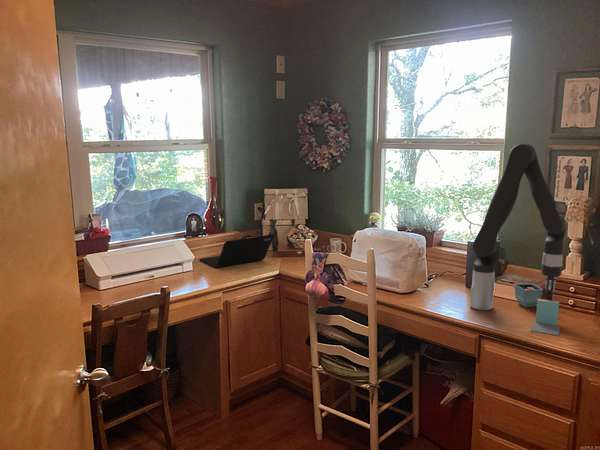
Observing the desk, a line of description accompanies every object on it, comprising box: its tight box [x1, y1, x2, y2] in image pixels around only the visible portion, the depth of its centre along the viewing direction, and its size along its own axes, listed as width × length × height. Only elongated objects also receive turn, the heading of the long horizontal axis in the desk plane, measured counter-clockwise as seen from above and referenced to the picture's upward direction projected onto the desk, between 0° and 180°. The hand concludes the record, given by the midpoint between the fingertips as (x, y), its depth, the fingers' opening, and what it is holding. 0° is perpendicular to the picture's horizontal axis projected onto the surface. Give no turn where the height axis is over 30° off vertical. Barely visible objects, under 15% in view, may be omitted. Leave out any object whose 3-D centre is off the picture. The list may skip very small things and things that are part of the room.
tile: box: [535, 299, 560, 326], centre depth 208 cm, size 8×2×10 cm, turn 62°
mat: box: [530, 321, 561, 337], centre depth 203 cm, size 10×10×1 cm
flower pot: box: [514, 283, 543, 308], centre depth 230 cm, size 9×9×9 cm
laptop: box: [199, 233, 275, 269], centre depth 308 cm, size 33×38×19 cm
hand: (548, 303), depth 213 cm, fingers closed
